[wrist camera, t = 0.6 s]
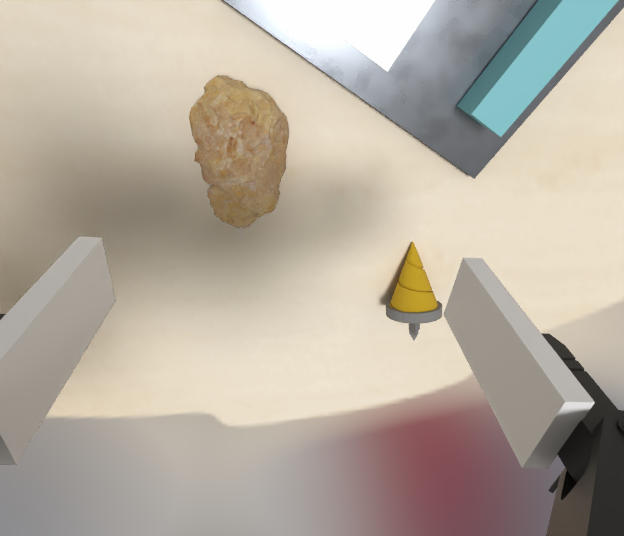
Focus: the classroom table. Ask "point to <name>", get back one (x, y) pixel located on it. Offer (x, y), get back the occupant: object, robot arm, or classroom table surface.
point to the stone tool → (239, 149)
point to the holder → (412, 59)
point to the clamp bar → (531, 60)
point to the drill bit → (413, 296)
